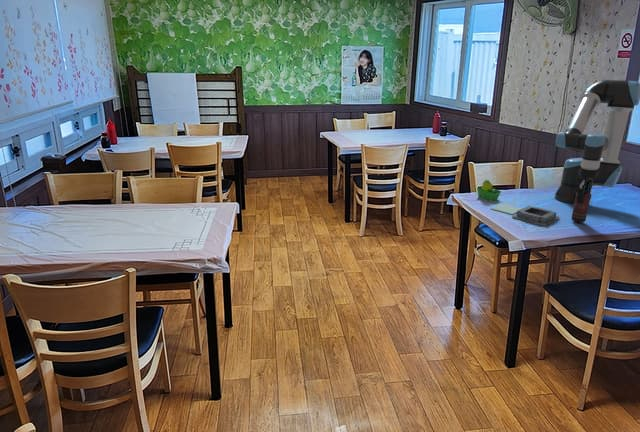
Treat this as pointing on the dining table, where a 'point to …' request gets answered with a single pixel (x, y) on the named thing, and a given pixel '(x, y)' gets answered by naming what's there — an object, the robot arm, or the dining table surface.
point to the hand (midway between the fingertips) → (579, 215)
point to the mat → (506, 209)
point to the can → (581, 208)
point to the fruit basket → (488, 191)
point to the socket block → (536, 215)
